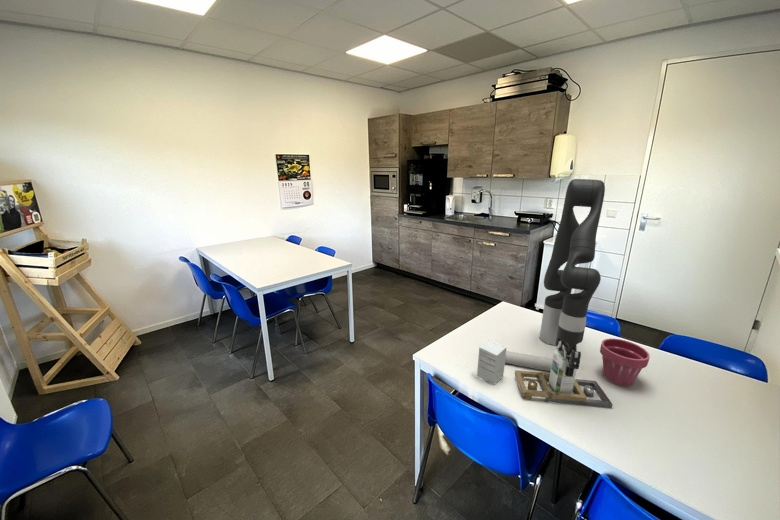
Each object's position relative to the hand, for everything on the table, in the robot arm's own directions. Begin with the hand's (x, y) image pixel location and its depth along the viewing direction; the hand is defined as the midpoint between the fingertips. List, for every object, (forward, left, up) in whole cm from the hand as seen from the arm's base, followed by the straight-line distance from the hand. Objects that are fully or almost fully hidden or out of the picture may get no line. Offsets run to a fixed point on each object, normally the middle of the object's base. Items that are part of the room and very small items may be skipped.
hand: (563, 368), depth 109 cm
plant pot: (-11, +24, -10) cm, 28 cm away
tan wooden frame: (0, -4, -10) cm, 10 cm away
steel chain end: (0, +4, -10) cm, 10 cm away
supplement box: (-5, -23, -10) cm, 25 cm away
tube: (-15, -9, -10) cm, 20 cm away
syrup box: (0, 0, -10) cm, 10 cm away
